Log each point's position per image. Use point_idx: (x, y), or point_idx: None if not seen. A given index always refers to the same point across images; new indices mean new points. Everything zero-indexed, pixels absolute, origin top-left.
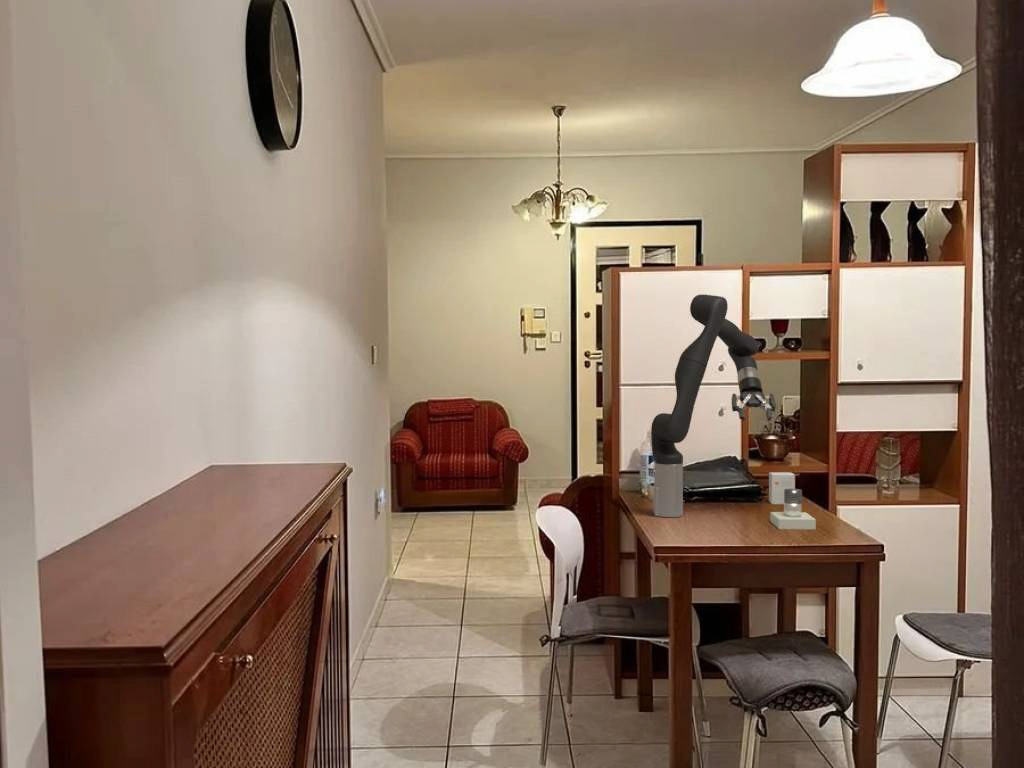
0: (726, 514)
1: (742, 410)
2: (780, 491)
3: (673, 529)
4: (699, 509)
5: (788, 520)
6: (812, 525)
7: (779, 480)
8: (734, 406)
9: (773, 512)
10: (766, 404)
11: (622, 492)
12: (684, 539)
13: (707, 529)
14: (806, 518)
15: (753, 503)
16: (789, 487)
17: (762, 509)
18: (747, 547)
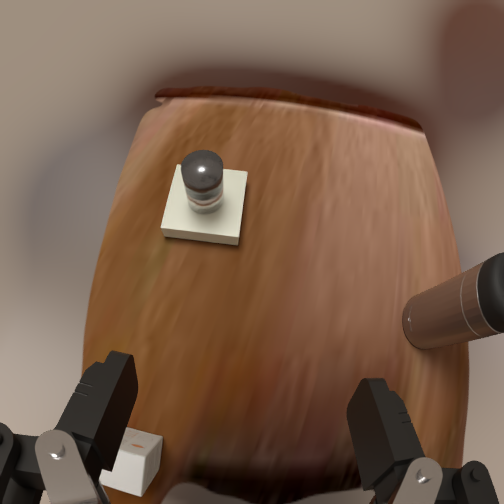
0: (313, 326)
1: (399, 440)
2: (133, 437)
3: (417, 205)
4: None
5: (228, 171)
6: None
7: (127, 445)
8: (477, 462)
9: (233, 232)
10: (67, 495)
11: None
12: (400, 150)
13: (370, 197)
14: None
15: (206, 453)
16: None
17: (207, 380)
18: (325, 103)
